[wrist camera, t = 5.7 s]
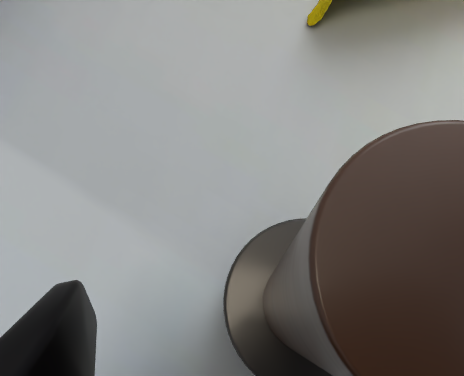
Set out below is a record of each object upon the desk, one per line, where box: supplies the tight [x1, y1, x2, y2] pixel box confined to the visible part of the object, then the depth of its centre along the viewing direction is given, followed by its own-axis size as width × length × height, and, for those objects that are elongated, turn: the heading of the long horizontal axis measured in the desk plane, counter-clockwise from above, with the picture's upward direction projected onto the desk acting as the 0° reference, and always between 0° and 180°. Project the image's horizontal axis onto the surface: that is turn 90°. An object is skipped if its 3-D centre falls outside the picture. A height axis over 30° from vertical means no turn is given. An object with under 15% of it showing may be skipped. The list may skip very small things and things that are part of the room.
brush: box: [224, 120, 464, 376], centre depth 9 cm, size 4×4×12 cm
